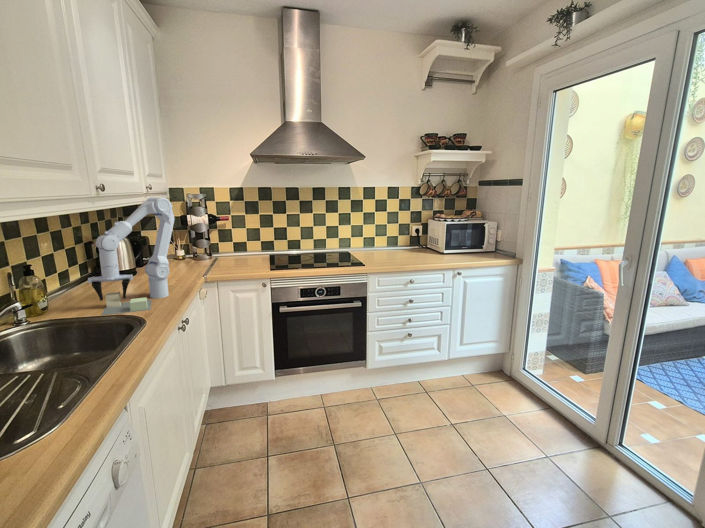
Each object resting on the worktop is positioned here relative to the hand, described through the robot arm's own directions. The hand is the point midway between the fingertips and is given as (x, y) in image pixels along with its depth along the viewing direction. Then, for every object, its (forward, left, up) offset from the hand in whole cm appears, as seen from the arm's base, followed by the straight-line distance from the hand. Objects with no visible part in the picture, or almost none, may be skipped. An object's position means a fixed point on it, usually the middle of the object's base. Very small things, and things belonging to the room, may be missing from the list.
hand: (113, 298), depth 139 cm
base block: (+8, +9, -3) cm, 12 cm away
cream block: (0, 0, -3) cm, 3 cm away
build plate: (+4, +5, -4) cm, 7 cm away
